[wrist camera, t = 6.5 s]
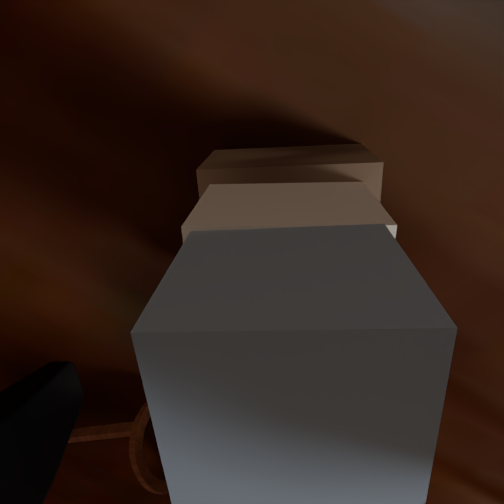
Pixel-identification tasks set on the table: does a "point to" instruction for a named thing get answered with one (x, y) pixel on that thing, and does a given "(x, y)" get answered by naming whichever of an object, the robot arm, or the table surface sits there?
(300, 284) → the slate block
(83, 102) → the table surface
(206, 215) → the cream block
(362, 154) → the grey-brown square block
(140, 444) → the glasses
